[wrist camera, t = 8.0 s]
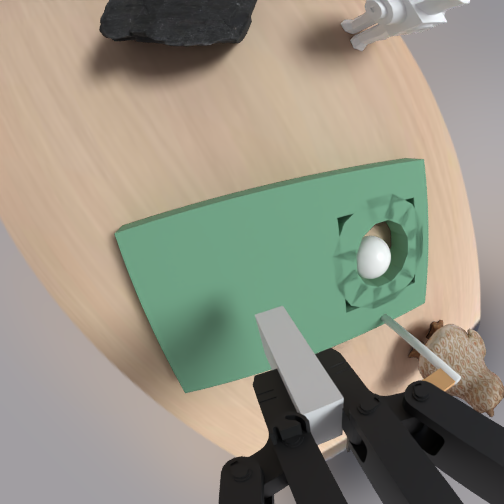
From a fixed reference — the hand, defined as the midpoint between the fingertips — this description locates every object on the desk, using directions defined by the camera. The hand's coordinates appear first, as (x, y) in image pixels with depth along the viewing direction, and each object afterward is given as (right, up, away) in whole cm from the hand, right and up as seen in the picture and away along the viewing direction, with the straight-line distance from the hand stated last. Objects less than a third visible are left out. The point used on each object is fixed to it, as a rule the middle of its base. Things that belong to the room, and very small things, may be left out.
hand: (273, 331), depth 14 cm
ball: (+8, +4, +7) cm, 12 cm away
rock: (-6, +21, +1) cm, 22 cm away
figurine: (+20, -7, +15) cm, 26 cm away
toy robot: (+8, +23, +3) cm, 25 cm away
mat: (+3, +3, +8) cm, 9 cm away
